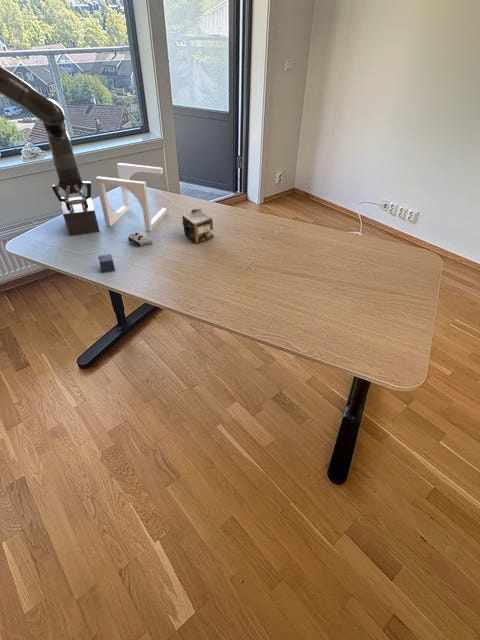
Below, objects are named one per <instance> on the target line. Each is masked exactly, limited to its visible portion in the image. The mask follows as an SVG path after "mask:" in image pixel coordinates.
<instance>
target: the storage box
mask: <svg viewBox="0 0 480 640" xmlns="http://www.w3.org/2000/svg"><path fill="white" fill-rule="evenodd" d="M63 218H64V222H65V226H66V229H67V231H68V235H69V237H72V236H73V237H74V236H80V235H87V234H95V233H100V231H101V230H100V227H99V222H98V218H97V215H96V211H95V212H93V213H85V214H77V215H69V216H63Z"/></svg>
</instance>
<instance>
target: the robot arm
mask: <svg viewBox="0 0 480 640" xmlns="http://www.w3.org/2000/svg"><path fill="white" fill-rule="evenodd" d="M0 95H2V96H3V97H5V98H7V99H9V100H10V101H11V102H12V103H14V104H16V105H18V106H20V107H21V108H23V109H25V110H26V111H28V112H29V113H30V114H32V115H33V116H34V117H36V118H37V119H38V120H40V121H41V122H42V123H43V127H44V129H45V132H46V135H47V140H48V145H49V148H50V151H51V157H52V161H53V166H54V168H55V171H56V174H57V178H58V183H56V184H51V189H52V191H53V193H54V194H55V196H56V198H57V199H58V201H59V202H60V203H61V202H65V204H66V207H67V210H69V211H70V212H72V210H71V207H70V204H69V201H68V198H70V195H73V194H78V195H79V197H82V199H83V203H84V207H85V210H87V208H88V203H87V199H90V198H91V199H92V184H91V181H89V180H87V181H83V179H81V174H80V173H81V172H80V169H79V166H78V161H77V158H76V155H75V153H74V148H73V145H72V141H71V138H70V135H69V134H68V131H67V127H66V122H65V120H66V116H65V112H64V109H63V108H62V107H61V106H60V104H59V103H58V102H57V101H55V100H54V99H51V98H47V97H45V96H44V95H43V94H41V93H40V92H38V91H37V90H36V89H34V88H33V86H31V85H30V84H29V83H27V82H26V81H24V80H23V79H22V78H20V77H18V76H17V75H15V74H14V73H12V72H11V71H9V70H7V69H6V68H4V67H3V66H1V65H0ZM83 186H84V187H85V188H86V194H85V193H84V192H83V190H82V188H83ZM60 189H62V190H63V191H64V196H62V195H61V193H60Z"/></svg>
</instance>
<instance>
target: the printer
mask: <svg viewBox="0 0 480 640" xmlns="http://www.w3.org/2000/svg"><path fill="white" fill-rule="evenodd" d="M181 219H182V221H181V224H182V226H183V234H184V236H186V238H188V239H190V240H191V241H192V242H194V243H200V242H203V241H207V240H210V239H213V238H214V236H215V235H214V234H213V233H212V232H211V230H212V231H214V222H213V218H212V217H210V216H209V215H207V214H205V213H203V211H202V209H201V208H196V209H192V210H191V213H187V214H183V215H182V218H181Z"/></svg>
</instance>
